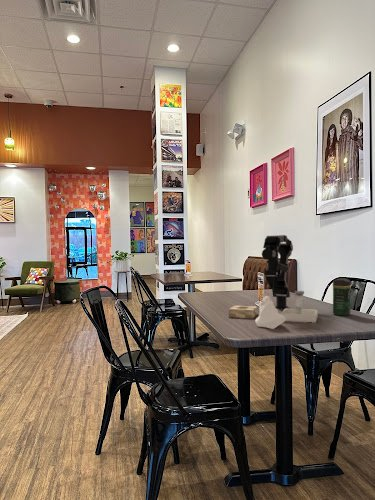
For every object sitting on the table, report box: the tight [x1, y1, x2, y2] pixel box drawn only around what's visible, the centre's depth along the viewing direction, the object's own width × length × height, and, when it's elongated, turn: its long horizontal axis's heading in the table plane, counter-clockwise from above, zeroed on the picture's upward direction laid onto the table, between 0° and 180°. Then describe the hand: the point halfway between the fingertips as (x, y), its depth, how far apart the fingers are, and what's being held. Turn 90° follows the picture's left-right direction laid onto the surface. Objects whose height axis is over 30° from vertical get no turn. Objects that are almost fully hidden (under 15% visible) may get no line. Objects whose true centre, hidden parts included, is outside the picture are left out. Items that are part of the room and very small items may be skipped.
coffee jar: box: [332, 277, 351, 316], centre depth 189 cm, size 10×8×19 cm
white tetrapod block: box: [254, 295, 287, 330], centre depth 166 cm, size 12×15×14 cm
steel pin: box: [294, 290, 305, 314], centre depth 179 cm, size 4×4×12 cm
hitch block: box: [228, 305, 258, 319], centre depth 190 cm, size 12×12×4 cm
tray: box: [280, 307, 319, 324], centre depth 179 cm, size 16×16×4 cm
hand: (273, 287), depth 199 cm, fingers open, 9 cm apart
